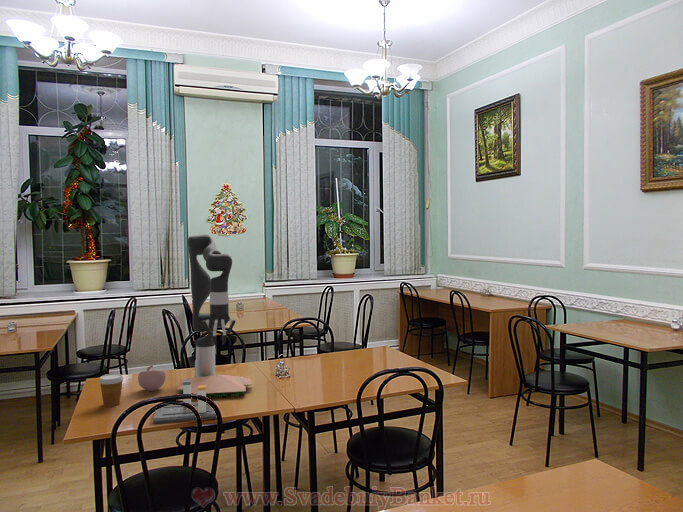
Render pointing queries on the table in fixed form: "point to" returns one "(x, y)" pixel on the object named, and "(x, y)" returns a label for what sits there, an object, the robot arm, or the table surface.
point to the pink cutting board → (218, 384)
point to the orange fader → (200, 403)
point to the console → (181, 413)
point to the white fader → (187, 390)
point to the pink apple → (151, 379)
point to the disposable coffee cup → (111, 389)
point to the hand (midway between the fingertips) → (219, 344)
